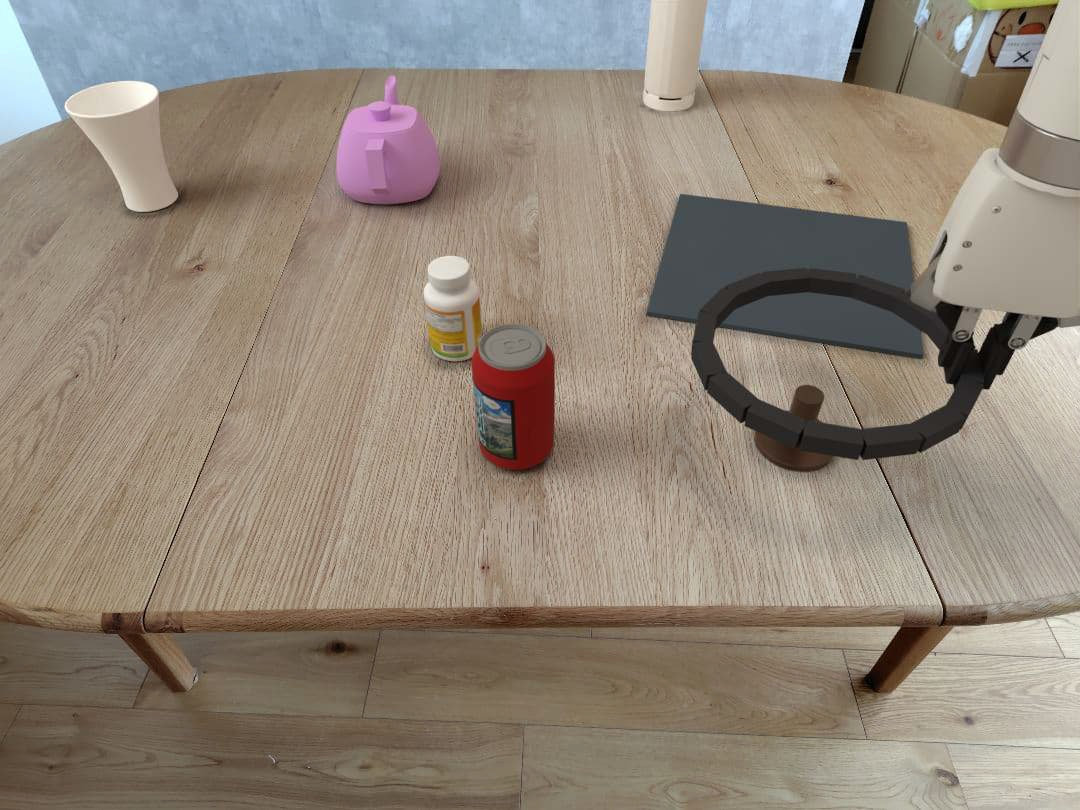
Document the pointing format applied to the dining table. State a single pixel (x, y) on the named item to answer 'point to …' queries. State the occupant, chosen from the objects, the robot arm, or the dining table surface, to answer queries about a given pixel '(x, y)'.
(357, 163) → the teapot
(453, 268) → the supplement bottle
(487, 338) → the beverage can
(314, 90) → the dining table surface
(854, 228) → the mat
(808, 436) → the ring
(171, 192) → the cup
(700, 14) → the bottle
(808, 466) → the brown peg stand
